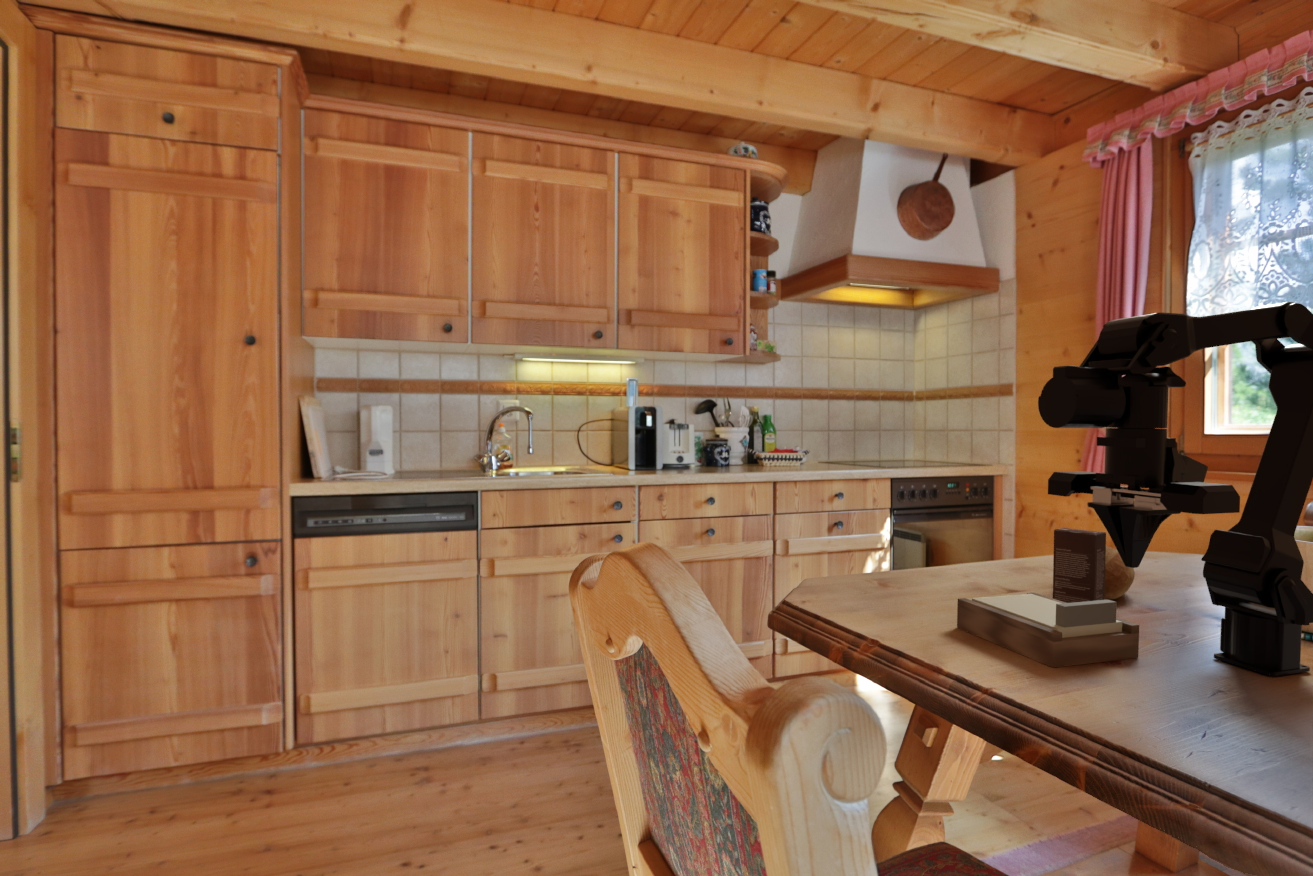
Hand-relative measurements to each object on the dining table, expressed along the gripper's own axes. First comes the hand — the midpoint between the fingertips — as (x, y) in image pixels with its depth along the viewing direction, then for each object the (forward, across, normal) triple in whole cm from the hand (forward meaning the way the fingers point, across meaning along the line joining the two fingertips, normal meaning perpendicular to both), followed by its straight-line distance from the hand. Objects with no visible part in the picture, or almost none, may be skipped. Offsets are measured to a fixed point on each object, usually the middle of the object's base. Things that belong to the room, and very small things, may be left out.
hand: (1131, 567), depth 80 cm
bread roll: (+13, +30, -30) cm, 44 cm away
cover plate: (+9, +12, 0) cm, 15 cm away
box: (+12, +23, -18) cm, 32 cm away
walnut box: (+12, +12, 0) cm, 17 cm away
